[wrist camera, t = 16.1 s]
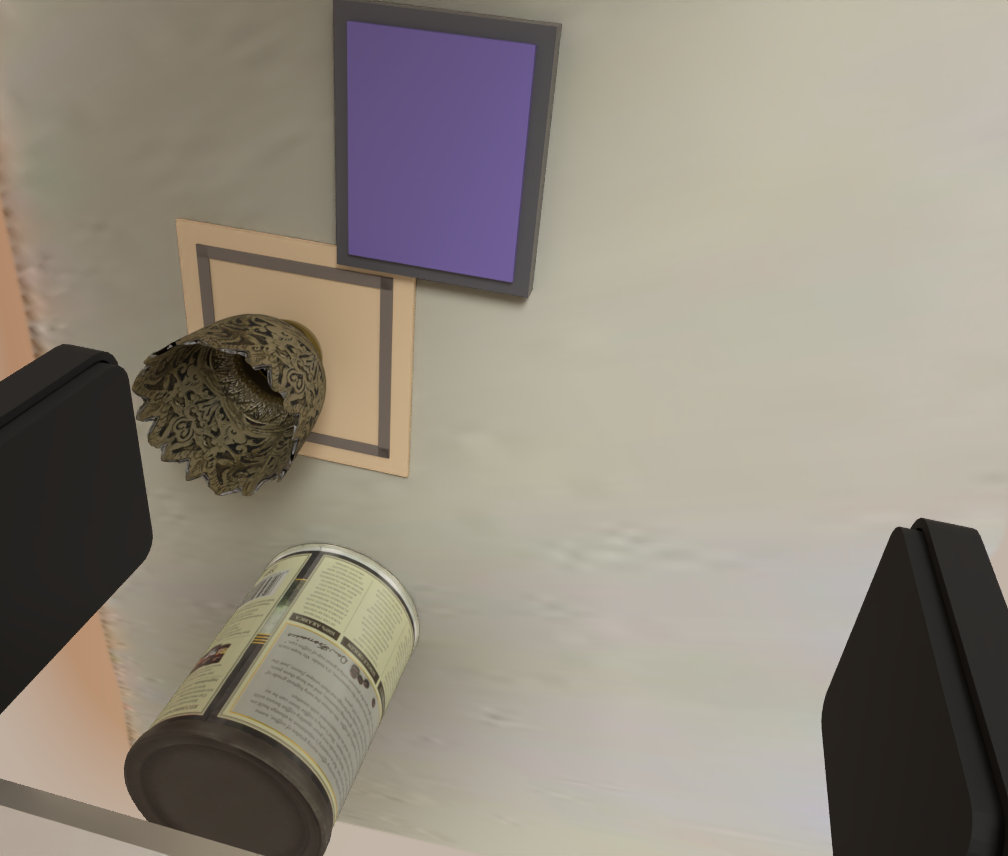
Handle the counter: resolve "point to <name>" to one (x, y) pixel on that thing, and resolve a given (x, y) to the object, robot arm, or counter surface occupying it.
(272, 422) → the cup
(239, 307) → the print card
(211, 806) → the coffee can
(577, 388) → the counter surface
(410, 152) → the ink pad
